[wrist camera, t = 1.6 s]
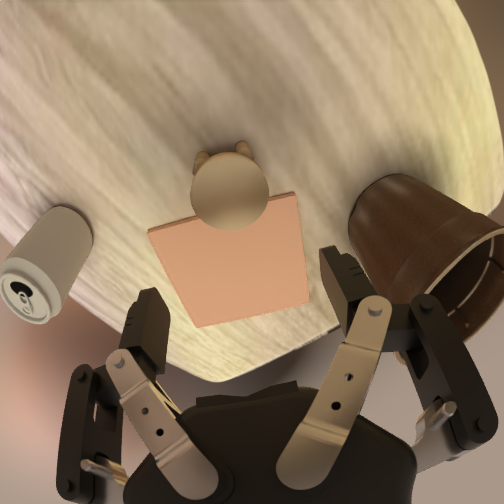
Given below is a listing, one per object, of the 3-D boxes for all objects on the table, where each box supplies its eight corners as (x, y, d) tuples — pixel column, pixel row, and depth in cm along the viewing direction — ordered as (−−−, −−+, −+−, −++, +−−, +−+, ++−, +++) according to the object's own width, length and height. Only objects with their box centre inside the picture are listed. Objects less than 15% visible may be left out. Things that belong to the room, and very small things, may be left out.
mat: (148, 229, 29) (146, 233, 28) (293, 192, 28) (295, 195, 28) (196, 323, 38) (196, 328, 38) (308, 298, 38) (309, 302, 37)
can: (90, 203, 26) (39, 274, 16) (99, 259, 30) (65, 336, 21) (39, 202, 25) (-18, 265, 15) (51, 255, 29) (10, 323, 19)
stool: (188, 150, 25) (180, 171, 19) (251, 133, 24) (260, 150, 19) (206, 204, 28) (203, 237, 23) (263, 189, 28) (275, 220, 23)
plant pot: (415, 129, 25) (527, 191, 12) (448, 223, 33) (517, 296, 20) (306, 211, 30) (368, 326, 17) (364, 287, 38) (412, 380, 25)
